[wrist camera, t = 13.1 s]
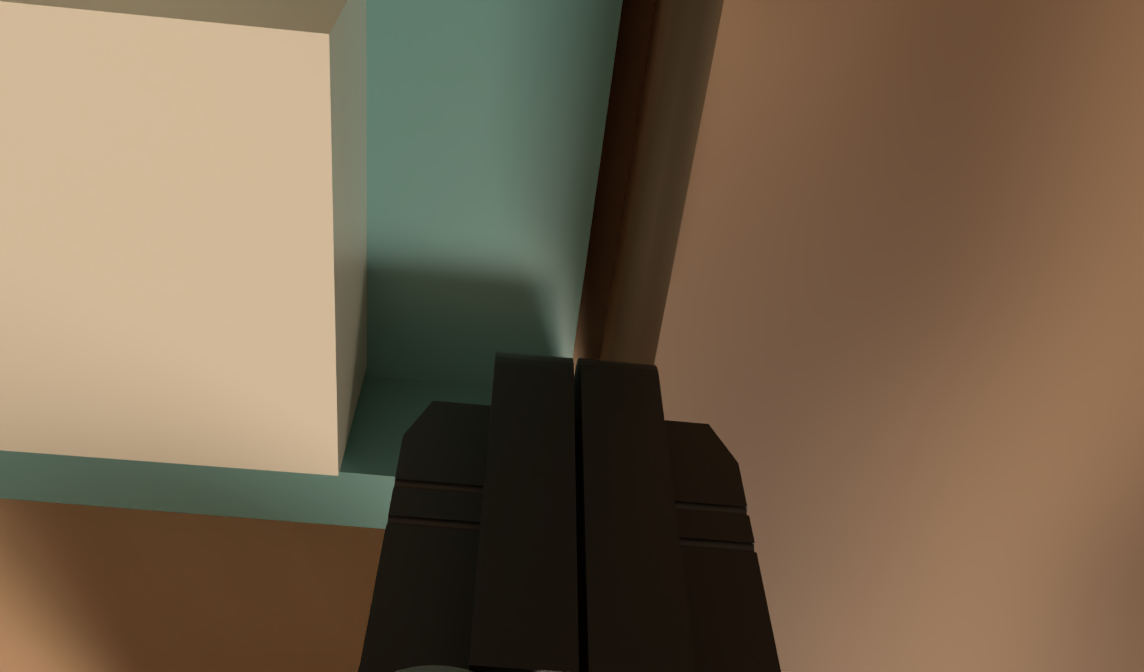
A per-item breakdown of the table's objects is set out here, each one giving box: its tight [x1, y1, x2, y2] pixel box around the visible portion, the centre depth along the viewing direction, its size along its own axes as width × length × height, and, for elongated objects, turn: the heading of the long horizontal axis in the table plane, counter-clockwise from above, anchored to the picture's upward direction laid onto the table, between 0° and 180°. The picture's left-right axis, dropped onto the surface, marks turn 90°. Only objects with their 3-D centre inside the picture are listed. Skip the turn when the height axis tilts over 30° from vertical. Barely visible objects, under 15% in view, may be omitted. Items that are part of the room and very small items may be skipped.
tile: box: [0, 0, 367, 476], centre depth 14 cm, size 6×6×2 cm
